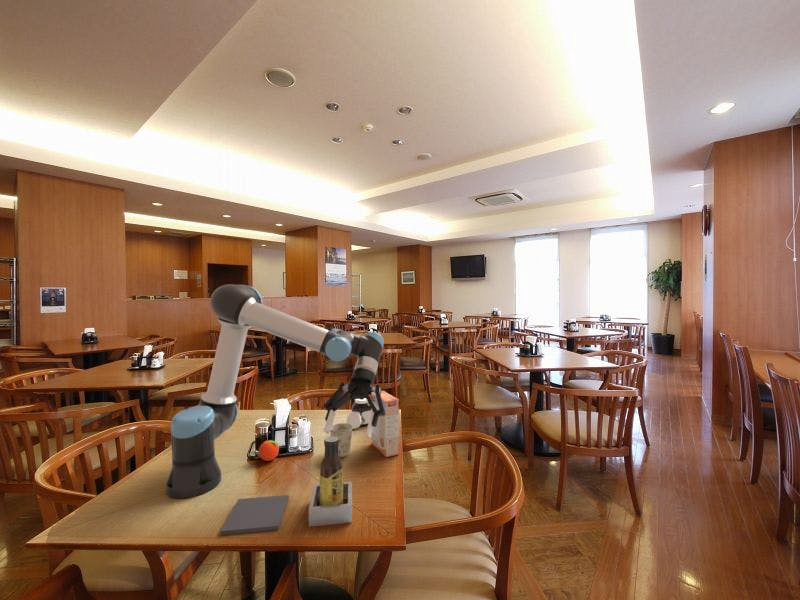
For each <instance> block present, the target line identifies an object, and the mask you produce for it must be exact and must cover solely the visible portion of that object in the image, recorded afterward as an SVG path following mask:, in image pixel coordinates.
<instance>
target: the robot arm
mask: <svg viewBox="0 0 800 600" xmlns="http://www.w3.org/2000/svg"><path fill="white" fill-rule="evenodd" d="M263 301H264V300H263V298H262V294H261V293H260V292H259V291H258V290H257V289H256V288H255V287H254V286H253V287H252V286H250V285H246V284H233V283H231V284H224V285H220V286H219V287H217V288H216V289H215V290H214V291H213V292H212V294H211V296H210V300H209V305H210V309H211V311H212V313H214V315H216V316H217V318H218V319H217V320H218V322H219V323H220V324H221V329H220V332H219V337H218V341H217V346H216V350H215V355H214V360H213V363H212V364H213V365H212V369H211V372H210V375H209V377H210V378H209V380H208V381H209V382H208V386H207V391H206V392H204V393H202V394H201V395H200V400H199V405H196V406H191V407H188V408H185V409H182V410H180V411H178V412H177V413H176V414H175V415H173V417H172V418H171V426H170V435H171V436H170V437H171V438H170V439H171V461H172V462H171V468H170V470H169V471H170V472H169V475H168V478H167V480H166V483H165V494H166V495H167V496H168V497H170V498H174V499H188V498H191V497H196V496H200V495H203V494H205V493H208V492H210V491H211V490H213V489H214V488H216V487H217V486H218V485H219V484H220V483H221V481H222V471H221V469H220V465H219V463H218V460H217V458H216V456H215V455H216V454H215V452H216V451H215V450H216V449H215V441H216V439H217V438H218V437H220V436H221V435H222V434H223V433H226V431H227V430H229V429H230V428H231V427H232V426H233V425H234V424H235V422H236V420H237V419H238V414H239V408H238V405H237V400H238V397H237V396H236V395H235V389H236V384H237V379H238V375H239V370H240V366H241V362H242V358H243V354H244V349H245V344H246V340H247V336H248V332H249V329H251V328H252V327H253V328H255V329H258V330H260V331H263V332H266V333H269V334H271V335H274V336H276V337H279V338H281V339H284V340H286V341H289V342H292V343H294V344H297V345H299V346H303V347H305V348H308V349H310V350H312V351H315V352H317V353H320V354H324V355H325V356H326V357H328V358H329V359H330V360H331V361H333V362H341V361H344V360H345V359H347V358H348V357H349V356H350V355H351V356H354V357H357V360H356V362H355V365H354V370H353V373H352V374H351V379H350V382H349V384H345V383H344V382H341V383H340V384H339V387H338V388H337V389H336V391H334V393H333V394H332V395H331V396H330V398H329V399H327V401H326V402H325V403H324V404H323V407H324V409H325V410H326V416H325V417H324V419H325V421H326V422H325V424H324V429H323V431H324V432H325V433H326V434H328V435H329V434H330V430H331V427H332V425H333V423H334V420H335V417H336V413H335V412H336V411H338V410H339V409H340V408H341V407H342V406H344V404H347V402H349V401H351V400H352V399H353V400H355V399H361V400H363V399H364V398H366V399H367V401H368V403H369V405H370V407H371V408H372V410H373V412H374V414H373V413H371V415H370V419H369V423H368V425H367V426H366V427H367V428H366V433H365V435H366V437H367V438H368V439H372V430H373V427H376V425H377V422H378V418H379V416H384V415H385V410H384V406H383V402H382V398H381V391H382V389H381V386H380V385H379V384H376V385H375V386H374V382H375V379H376V374H377V371H378V367H379V364H380V360H381V356H382V352H383V349H384V344H385V339H384V337H383V336H382V334H381V333H378V332H376V331H368V332H367V333H366V334H365V335H360V334H356V333H353V332H350V331H347V330H343V329H339V328H332V329H331V330H328V329H326V328H323V327H321V326H318V325H316V324H314V323H310V322H308V321H306V320H303V319H301V318H298V317H296V316H293V315H290V314H288V313H286V312H283V311H281V310H277V309H276V308H273V307H270V306H267V305H265V304H264V303H263ZM372 392H374V393H375V394H376V398H377V402H378V406H379V409H380V410H377V409H376V407H375V406H374V404H373V402H372V400H371V396H370V395H371V393H372Z"/></svg>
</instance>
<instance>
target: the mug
mask: <svg viewBox="0 0 800 600" xmlns="http://www.w3.org/2000/svg"><path fill="white" fill-rule="evenodd" d="M329 434H330V437H338V438H339V444H338V452H339V457H340V458H344V457H345V458H346V457H348V456H349V455H350V453H351V445H352V436H353V429H352V425H350V424H347V422H343V423H342V422H340V423H335V424H332V427H331V430H330V433H329Z"/></svg>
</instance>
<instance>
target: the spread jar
mask: <svg viewBox="0 0 800 600" xmlns="http://www.w3.org/2000/svg"><path fill="white" fill-rule="evenodd" d="M370 415H371V407H370V405H369V403H368V401H367V399H366V398H364V399H363V400H361V399H354V403H353V404H352V407H351V412H350V413H349V414H348V415H347V417H346V423H347V424H350V425H352V430H354V429H355V430H357V429H358V428H359V427H368V423H369V419H370Z"/></svg>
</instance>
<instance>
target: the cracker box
mask: <svg viewBox="0 0 800 600" xmlns="http://www.w3.org/2000/svg"><path fill="white" fill-rule="evenodd" d="M381 398H382V402H383V406H384V410H385V415H384V416H379V418H378V422H377V425H376V427H373V430H372V434H371V445H372V446H373V447H374V448H375V449H376V450H377V451H378V452H379V453H380V454H382V455H383V456H384V457H385V458H388V457H389V458H391V457H394V456H398V455H400V423H399V422H400V421H399V419H400V417H399V415H400V409H399V402H400V399H399V398H397V397H395V396H393V395H392V394H389V393H388V392H387V391H385V390H381ZM370 399H371V400H372V402H373V404H374V406H375V407H376V409H377V410H380V409H379V406H378V402H377V398H376V394H375V393H374V391H372V392H371V393H370ZM371 413H373V414H374V412H373V410H372V408H371Z"/></svg>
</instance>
